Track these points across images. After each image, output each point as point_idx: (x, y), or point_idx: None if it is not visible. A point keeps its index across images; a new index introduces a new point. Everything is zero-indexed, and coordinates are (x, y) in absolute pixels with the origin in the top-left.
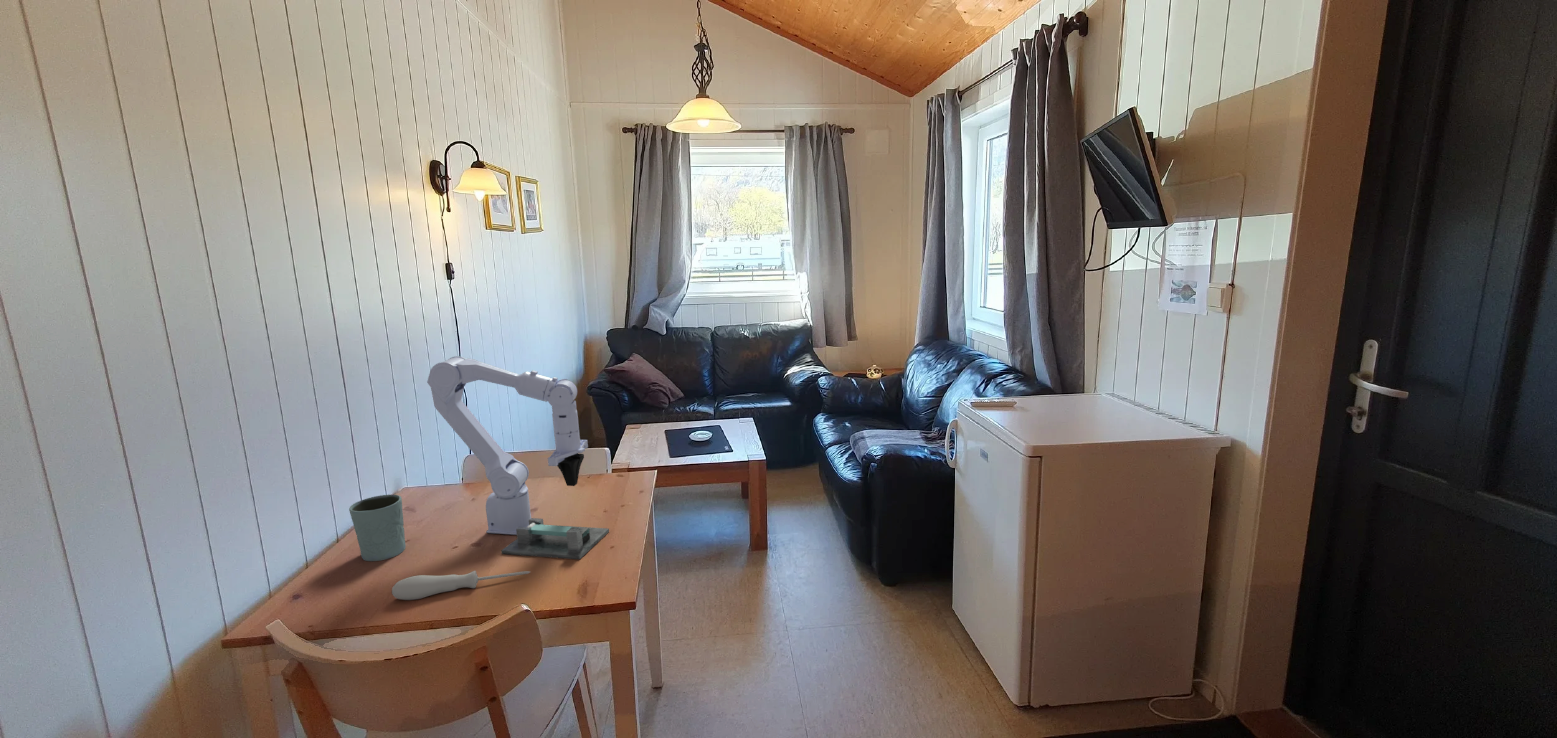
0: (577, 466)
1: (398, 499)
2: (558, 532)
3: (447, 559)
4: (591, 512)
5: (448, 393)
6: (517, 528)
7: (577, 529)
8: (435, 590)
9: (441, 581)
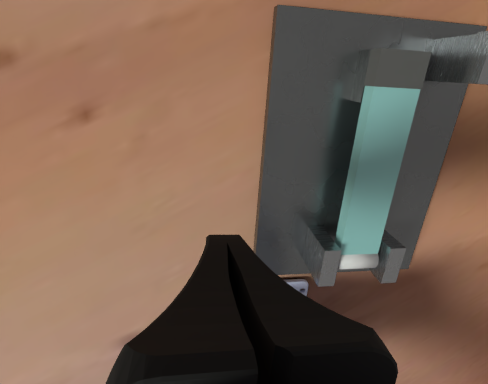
0: (235, 304)
1: None
2: (401, 154)
3: (410, 343)
4: (111, 164)
5: None
6: (392, 281)
7: None
8: None
9: None
